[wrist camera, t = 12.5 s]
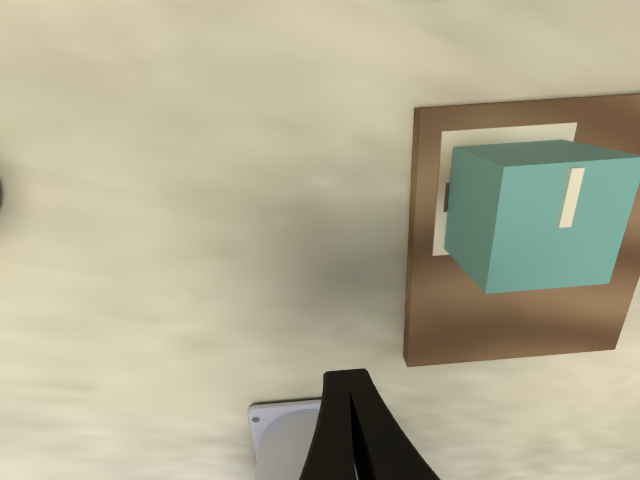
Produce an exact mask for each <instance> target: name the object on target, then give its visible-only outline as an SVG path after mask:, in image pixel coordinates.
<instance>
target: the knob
mask: <svg viewBox="0 0 640 480" xmlns="http://www.w3.org/2000/svg"><path fill="white" fill-rule="evenodd" d="M639 183H640V155H637V154H632V153H627V152H622V151H617V150H612V149H607V148H602V147H597V146H593V145H588V144H583V143H578V142H573V141H568V140H563V139H560V140H545V141H531V142H516V143H502V144H487V145H473V146H459V147H453V153H452V165H451V176H450V188H449V199H448V210H447V222H446V233H445V244H444V249H445V250H446V251H447V252H448V253H449V254H450V256H451V257H452V258H453V259H454V260H455V261H456V262H457V263H458V264H459V265H460V267H461V268H462V269H463V270H464V271H465V272H466V273H467V274H468V275H469V277H470V278H471V279H472V280H473V281H474V282H475V283H476V284H477V285H478V286H479V288H480V289H481V290H482V291H483V292H484V293H485V294H491V293H503V292H515V291H527V290H539V289H551V288H563V287H575V286H587V285H599V284H609V282H610V279H611V275H612V272H613V269H614V265H615V262H616V259H617V255H618V252H619V249H620V245H621V242H622V239H623V236H624V232H625V229H626V226H627V222H628V219H629V216H630V212H631V209H632V206H633V202H634V199H635V196H636V192H637V189H638V186H639Z"/></svg>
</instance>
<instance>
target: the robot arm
mask: <svg viewBox="0 0 640 480" xmlns="http://www.w3.org/2000/svg"><path fill="white" fill-rule="evenodd" d="M256 417H257V418H256ZM248 418H249V423H250V429H251V434H252V439H253V444H254V450H255V455H256V460H257V470H256V479H255V480H440V479H439V477H438V476H437V475H436V474H435V473H434V471H433V470H432V469H431V468H430V467H429V465H428V464H427V463H426V462H425V460H424V459H423V458H422V457H421V455H420V454H419V453H418V451H417V450H416V449H415V447H414V446H413V445H412V443H411V442H410V441H409V439H408V438H407V436H406V435H405V434H404V432H403V431H402V429H401V428H400V426H399V425H398V423H397V422H396V420H395V419H394V417H393V416H392V414H391V413H390V411H389V410H388V408H387V406H386V405H385V403H384V401H383V400H382V398H381V396H380V395H379V393H378V391H377V389H376V387H375V385H374V384H373V382H372V380H371V377H370V375H369V373H368V371H367V370H366V369H364V368H363V369H351V370H339V371H327V372H326V373H325V374H323V393H322V399H320V400H308V401H297V402H285V403H274V404H262V405H253V406H251V407H250V408H249V409H248Z"/></svg>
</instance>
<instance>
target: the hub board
mask: <svg viewBox="0 0 640 480" xmlns="http://www.w3.org/2000/svg"><path fill="white" fill-rule="evenodd" d="M560 139H563V140H568V141H573V142H578V143H583V144H588V145H593V146H597V147H602V148H607V149H612V150H617V151H622V152H627V153H632V154H637V155H640V93H637V94H622V95H606V96H591V97H575V98H560V99H544V100H529V101H513V102H498V103H482V104H467V105H451V106H436V107H420V108H414V129H413V152H412V174H411V197H410V219H409V241H408V264H407V286H406V309H405V331H404V354H403V357H404V360H405V362H406V365H407V367H415V366H426V365H438V364H450V363H462V362H473V361H485V360H497V359H509V358H520V357H532V356H544V355H556V354H567V353H579V352H591V351H603V350H614V349H615V347H616V344H617V341H618V339H619V336H620V333H621V330H622V327H623V324H624V321H625V318H626V315H627V312H628V309H629V306H630V303H631V300H632V297H633V294H634V291H635V288H636V285H637V282H638V279H639V276H640V183H639V186H638V189H637V192H636V196H635V199H634V202H633V206H632V209H631V212H630V216H629V219H628V222H627V226H626V229H625V232H624V236H623V239H622V242H621V245H620V249H619V252H618V255H617V259H616V262H615V265H614V269H613V272H612V275H611V279H610V282H609V284H599V285H587V286H575V287H563V288H551V289H539V290H527V291H515V292H503V293H491V294H485V293H484V292H483V291H482V290H481V289H480V288H479V286H478V285H477V284H476V283H475V282H474V281H473V280H472V279H471V278H470V277H469V275H468V274H467V273H466V272H465V271H464V270H463V269H462V268H461V267H460V265H459V264H458V263H457V262H456V261H455V260H454V259H453V258H452V257H451V256H450V254H449V253H448V252H447V251H446V250H445V249H444V244H445V233H446V222H447V210H448V199H449V188H450V176H451V165H452V153H453V147H459V146H473V145H487V144H502V143H516V142H531V141H545V140H560Z"/></svg>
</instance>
